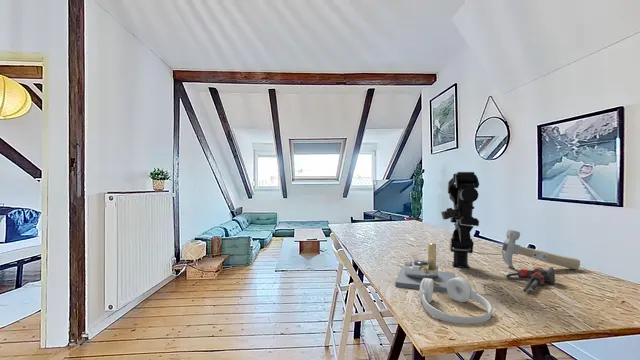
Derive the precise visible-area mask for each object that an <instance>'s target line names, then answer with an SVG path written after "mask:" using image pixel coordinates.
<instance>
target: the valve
mask: <svg viewBox="0 0 640 360" xmlns="http://www.w3.org/2000/svg"><path fill="white" fill-rule="evenodd" d="M514 276H517V277H514ZM505 277H506V278H507V279H508V280H510V281H519V282H520V281H521V282H527V283H526V285H525V286H524V288H523V289H522V291H523V292H524V293H526V292H527V291H528V292H527V293H529V294H530V295H532V294H533V293H534V291H535V289H536V288H537V286H538V285H539V286H542V285H544V284H545V282H546V281H547V282H549V284H551V285H554V286H555V284H556V276H555V270H554V267H553V266H549V268H548V270H545V269H544V268H542V267H541V266H538V267H535V268H534V269H533V270H531V269H529V270H528V269H527V268H525V269H524V268H522V269H519V270H517V272H512V273H507V275H505ZM539 286H538V287H539Z"/></svg>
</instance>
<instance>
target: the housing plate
mask: <svg viewBox="0 0 640 360" xmlns="http://www.w3.org/2000/svg"><path fill="white" fill-rule="evenodd" d="M399 270H400V271H399V272H398V275H397V278H396V280H395V287H400V288H408V289H415V290H416V289H417V290H420V284H421V281H422V280H423V279H416V278H412V277H409V276H407V275H405V267H401V268H400V269H399ZM452 278H456V273H455V272H451V271H442V270H441V271H440V270H438V277H437V278H435V279H433V281H434V286H433V292H441V293H448V292H447V288H446V285H447V282H448V281H449V280H450V279H452Z"/></svg>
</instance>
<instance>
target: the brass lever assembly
mask: <svg viewBox="0 0 640 360" xmlns="http://www.w3.org/2000/svg"><path fill="white" fill-rule="evenodd" d="M427 245H428V246H427V249H428V250H427V259H421V260H415V261H412V260H405V261H404V268H405V275H407V276H409V277H412V278H416V279H424V278H429V279H435V278H437V277H438V271H439V265H438V264H437V262H436V261H437V244H436V243H434V242H429V243H427Z"/></svg>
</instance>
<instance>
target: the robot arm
mask: <svg viewBox="0 0 640 360" xmlns="http://www.w3.org/2000/svg"><path fill="white" fill-rule="evenodd" d="M447 183H448V184H447V194H448V195H449V200H450V201H452V203H453V208H452V207H449V208H446V210H443V211H442V210H441V211H440V213H441V217H442V220H448V219H450V223H453V225H454V230H453V231H452V237H450V241H449V251H450V252H451V253H453V261H452V263H451V264H452V267H454V268H467V269H469V268H470V265H469V261H468V260H469V259H468V258H469V255H468V254H473V252H474V246H475V245H474V244H475V243H474V241H473V239H472V237H471V231H472V229H473V228H474V226H476V227H479V226H480V224H479V223H480V220H479V219H478V218H476V217H474V216H473V210H474V209H475V206H474V202H476V201H477V200H478V198H479V192H478V190H477V189H479V187H480V182H479V178H478V177H477V174H476V173H475V172H474V171H457V172H455V173H453V175H452V178H451V179H449V181H448V182H447Z"/></svg>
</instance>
